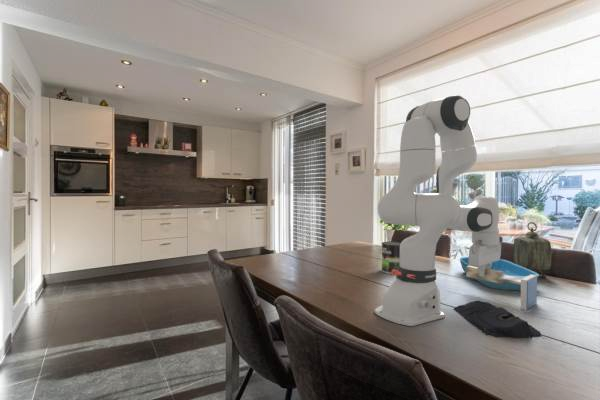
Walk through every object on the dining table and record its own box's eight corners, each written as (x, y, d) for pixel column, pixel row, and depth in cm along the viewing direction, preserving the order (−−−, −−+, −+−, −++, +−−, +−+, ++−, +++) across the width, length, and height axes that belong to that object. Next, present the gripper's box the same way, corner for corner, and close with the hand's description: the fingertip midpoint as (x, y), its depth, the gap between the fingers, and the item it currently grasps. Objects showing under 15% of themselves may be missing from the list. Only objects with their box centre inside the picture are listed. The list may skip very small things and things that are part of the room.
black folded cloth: (494, 309, 105) (494, 295, 105) (546, 340, 83) (547, 322, 83) (449, 309, 104) (449, 295, 104) (490, 340, 83) (490, 323, 82)
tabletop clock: (551, 279, 138) (552, 223, 137) (528, 278, 139) (529, 223, 138) (532, 271, 152) (532, 220, 151) (511, 270, 153) (512, 220, 153)
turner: (464, 277, 120) (464, 267, 120) (471, 274, 124) (471, 264, 124) (521, 289, 105) (521, 277, 105) (527, 286, 109) (527, 274, 109)
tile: (537, 303, 108) (537, 275, 108) (527, 310, 102) (527, 280, 102) (530, 302, 110) (530, 274, 109) (520, 308, 104) (520, 279, 103)
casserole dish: (551, 295, 118) (551, 276, 118) (489, 293, 120) (489, 275, 120) (498, 270, 154) (499, 256, 154) (452, 269, 157) (452, 255, 156)
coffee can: (391, 275, 146) (391, 245, 145) (377, 270, 155) (377, 242, 155) (407, 272, 150) (408, 244, 150) (393, 268, 159) (393, 241, 159)
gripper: (482, 242, 108) (481, 282, 108) (504, 237, 120) (504, 272, 121) (463, 240, 113) (463, 278, 113) (487, 235, 125) (486, 269, 126)
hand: (484, 275), depth 117 cm, fingers closed on turner, 3 cm apart
